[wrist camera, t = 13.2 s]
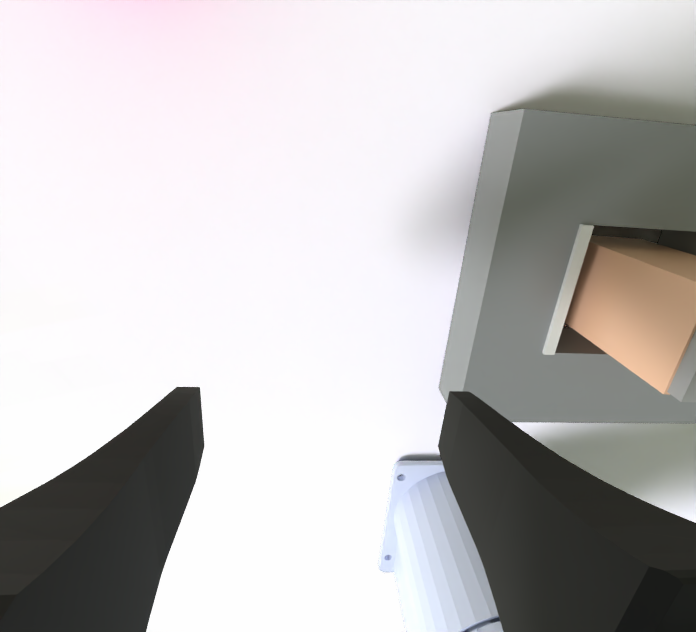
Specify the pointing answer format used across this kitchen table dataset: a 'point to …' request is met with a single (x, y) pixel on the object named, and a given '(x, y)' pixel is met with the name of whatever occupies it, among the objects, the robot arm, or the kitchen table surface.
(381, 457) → the kitchen table surface
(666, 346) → the plug
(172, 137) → the kitchen table surface
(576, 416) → the socket block
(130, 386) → the kitchen table surface
